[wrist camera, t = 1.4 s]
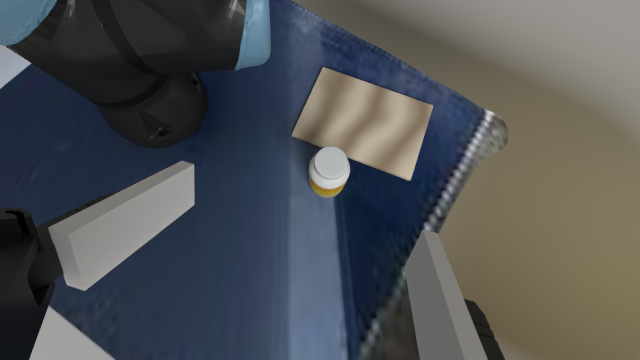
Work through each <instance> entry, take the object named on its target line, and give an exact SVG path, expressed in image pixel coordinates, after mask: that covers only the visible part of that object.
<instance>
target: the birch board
mask: <svg viewBox="0 0 640 360" xmlns="http://www.w3.org/2000/svg"><path fill="white" fill-rule="evenodd" d="M432 108H433V105H430V104H427V103H425V102H422V101H419V100H416V99H413V98H410V97H407V96H405V95H402V94H399V93H396V92H393V91H390V90H388V89H385V88H382V87H379V86H376V85H373V84H370V83H368V82H365V81H362V80H359V79H356V78H353V77H350V76H348V75H345V74H342V73H339V72H336V71H333V70H330V69H328V68H325V67H323V68H322V70H321V72H320V75H319V77H318V79H317V81H316V83H315V85H314V87H313V90H312V92H311V94H310V96H309V98H308V100H307V103H306V105H305V107H304V109H303V111H302V113H301V116H300V118H299V120H298V122H297V124H296V126H295V128H294V131H293V133H292V137H294V138H297V139H300V140H302V141H305V142H308V143H310V144H313V145H316V146H318V147H321V148H325V147H329V146H333V147H337V148H339V149H341V150H342V151H343V152H344V153H345V155H346V157H348V158H350V159H353V160H356V161H358V162H361V163H363V164H366V165H369V166H371V167H374V168H377V169H379V170H382V171H385V172H387V173H390V174H393V175H395V176H398V177H401V178H403V179H406V180H409V181H410V180H411V177H412V174H413V171H414V167H415V164H416V161H417V157H418V154H419V151H420V148H421V144H422V141H423V138H424V134H425V131H426V128H427V125H428V121H429V118H430V115H431V111H432Z"/></svg>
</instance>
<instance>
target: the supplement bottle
mask: <svg viewBox="0 0 640 360" xmlns="http://www.w3.org/2000/svg"><path fill="white" fill-rule="evenodd" d="M349 173H350V166H349V162H348V160H347V157H346V155H345V153H344V152H343V151H342V150H341V149H339V148H337V147H333V146H329V147H325V148H322V149H321V150H320V151H319V152H318V153H317V154H315V155H314V156H313V158H312V159H311V161H310V164H309V182H310V186H311V189H312V190H313V191H314V193H316V194H317V195H318V196H320V197H324V198H331V197H334V196H336V195H337V194H338V193H339V192H340V191H341V190H342V188H343V186H344V185H345V183H346V181H347V179H348V177H349Z"/></svg>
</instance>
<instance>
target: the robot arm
mask: <svg viewBox="0 0 640 360" xmlns="http://www.w3.org/2000/svg"><path fill="white" fill-rule="evenodd" d="M0 44H1V45H4V46H6V47H7V48H9V49H11V50H12V51H14V52H15V53H17V54H18V55H20V56H21V57H23V58H24V59H26V60H28V61H29V62H31V63H32V64H34V65H35V66H37V67H38V68H40V69H41V70H43V71H44V72H46V73H48V74H49V75H51V76H52V77H54V78H55V79H57V80H58V81H60V82H61V83H63V84H65V85H66V86H68V87H69V88H71V89H72V90H74V91H75V92H77V93H78V94H80V95H82V96H83V97H85V98H86V99H88V100H89V101H91V102H92V103H93V104H94V105H95V106H96V108H97V109H98V110H99V112H100V113H101V114H102V116H103V117H104V119H105V120H106V121H107V123H108V124H109V125H110V127H111V128H112V129H113V130H114V131H115V132H116V133H117V134H119V135H120V136H122V137H123V138H125V139H127V140H128V141H130V142H132V143H134V144H136V145H139V146H142V147H148V148H161V147H167V146H170V145H173V144H176V143H178V142H180V141H182V140H184V139H186V138H187V137H189V136H190V135H191V134H192V133H193V132H194V131H195V130H196V129H197V128H198V127H199V126H200V124H201V123H202V121H203V119H204V117H205V115H206V112H207V108H208V95H207V91H206V89H205V86H204V85H203V83H202V82H201V80H200V79H199V77H198V76H197V74H196V73H195V72H203V71H219V70H239V69H240V68H245V67H252V66H259V65H261V64H263V63H265V62H266V61H267V60H268V58H269V57H270V53H271V34H270V11H269V0H0ZM193 205H194V164H191V163H187V162H184V161H180V162H178V163H176V164H174V165H172V166H170V167H168V168H166V169H164V170H162V171H160V172H158V173H156V174H154V175H152V176H150V177H148V178H146V179H144V180H142V181H140V182H138V183H136V184H134V185H132V186H130V187H128V188H126V189H124V190H122V191H120V192H118V193H116V194H110V195H106V196H103V197H99V198H96V199H94V200H92V201H90V202H88V203H86V204H85V205H82V206H80V207H78V208H76V209H75V210H71V211H69V212H67V213H65V214H63V215H61V216H59V217H57V218H55V219H53V220H51V221H49V222H47V223H44V224H42V225H40V226H38V227H36V228H35V226H34V223H33V220H32V217H31V214H30V212H28V211H27V210H25V209H21V208H5V209H0V360H29V358H30V355H31V353H32V350H33V347H34V344H35V341H36V339H37V336H38V333H39V330H40V328H41V325H42V322H43V319H44V317H45V314H46V311H47V308H48V305H49V303H50V300H51V297H52V294H53V291H54V289H55V282H54V280H55V279H56V278H58V277H59V276H61V275H62V274H63V275H64V278H65V281H66V284H67V285H69V286H71V287H74V288H77V289H80V290H83V291H85V290H87V289H88V288H89V287H90V286H92V285H93V284H94V283H95V282H97V281H98V280H99V279H101V278H102V277H103V276H104V275H106V274H107V273H108V272H109V271H111V270H112V269H113V268H115V267H116V266H117V265H118V264H120V263H121V262H122V261H123V260H125V259H126V258H127V257H129V256H130V255H131V254H132V253H134V252H135V251H136V250H137V249H139V248H140V247H141V246H143V245H144V244H145V243H146V242H148V241H149V240H150V239H151V238H153V237H154V236H155V235H157V234H158V233H159V232H160V231H162V230H163V229H164V228H165V227H167V226H168V225H169V224H171V223H172V222H173V221H174V220H176V219H177V218H178V217H179V216H181V215H182V214H183V213H185V212H186V211H187V210H188V209H190V208H191V207H192V206H193ZM405 273H406V279H407V285H408V291H409V296H410V302H411V308H412V314H413V320H414V326H415V332H416V338H417V344H418V350H419V356H420V360H505V359H504V356H503V354H502V352H501V350H500V348H499V345H498V343H497V341H496V340H495V337H494V335H493V332H492V330H491V329H490V326H489V324H488V322H487V319H486V317H485V315H484V313H483V312H482V311H481V310H480V308H479V307H478V306H477V305H476V303H475V302H473V301H469V300H466V299H463V296H462V294H461V291H460V289H459V286H458V284H457V281H456V279H455V276H454V274H453V271H452V269H451V266H450V264H449V261H448V259H447V256H446V254H445V251H444V249H443V246H442V244H441V241H440V239H439V236H438V234H437V233H434V232H430V231H427V230H423V231H422V233H421V235H420V237H419V239H418V241H417V243H416V245H415V247H414V249H413V251H412V253H411V255H410V257H409V259H408V261H407V263H406V265H405Z"/></svg>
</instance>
